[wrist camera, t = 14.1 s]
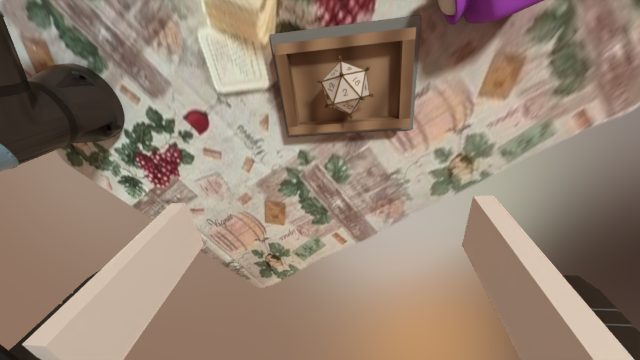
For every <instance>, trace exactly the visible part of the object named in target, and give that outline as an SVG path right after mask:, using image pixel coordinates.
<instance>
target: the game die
mask: <svg viewBox="0 0 640 360" xmlns="http://www.w3.org/2000/svg"><path fill="white" fill-rule="evenodd" d="M338 59H339V61H340V62H339V63H338V64H337V65H336V66H335V67H334V68H333V69H332V71H331V72H330V73H329V74H328V75H327V76H326V77H325V78H324V79H323V80H322V81H321V80H319V79H318V80H316V81H317V82H318V83H321V84H322V88H323V91H324V94H325V98H326V101H327V104H326V105H325V108H327V107H328V106H330V108H336V109H338V110H340V111H343V112H345V113H347V114H350V119H351V120H352V113H353V112H354V111H355V110H356V109H357V108H358V107H359V106H360V105H361V104H362V103H363V102H364V101H365V100H366V99H367V98H368V97H369V96H370V97H374V95H373V94H369V87H368V80H367V73H366V71H368V70H369V69H370V66H369V67H367V68H366V69H365V70H364V69H362V68H359V67H356V66H353V65H351V64H348V63H345V62H342V57H341V56H340V55H339V58H338Z"/></svg>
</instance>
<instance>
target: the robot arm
mask: <svg viewBox="0 0 640 360" xmlns="http://www.w3.org/2000/svg"><path fill="white" fill-rule="evenodd" d="M3 17H4V15H3V14H2V12H1V11H0V171H3V170H7V169H11V168H15V167H17V166H18V165H20V164H22V163H25V162H27V161H29V160H32V159H34V158H37V157H39V156H42V155H44V154H47V153H49V152H52V151H54V150H57V149H59V148H62V147H64V146H66V145H69V144H72V143H84V142H98V141H104V140H106V139H109V138H111V137H113V136H115V135H117V134H118V133H119V132H120V131H121V129H122V127H123V123H124V113H123V109H122V106H121V103H120V101H119V99H118V97H117V95H116V94H115V92H114V91H113V89H112V88H111V87H110V86H109V85H108V84H107V82H106V81H104V80H103V79H102V78H101V77H100V76H99V75H97V74H96V73H95V72H93V71H91V70H90V69H88V68H86V67H83V66H80V65H77V64H59V65H53V66H50V67H48V68H46V69H44V70H42V71H41V72H39V73H37V74H35V75H34V76H32V77H30V78H28V79H27V77H26V74H25V72H24V69H23V67H22V64H21V62H20V59H19V57H18V54H17V52H16V49H15V47H14V44H13V41H12V39H11V36H10V34H9V31H8V29H7V26H6V24H5V21H4V19H3ZM203 245H204V244H203V242H202V240H201V238H200V235H199V233H198V231H197V229H196V226H195V224H194V222H193V220H192V217H191V215H190V213H189V210H188V208H187V206H186V204H185V203H171V204H170V205H169V206H168V207H167V208H166V209H165V210H164V211H163V212H162V213H161V214H160V215H158V216H157V217H156V218H155V219H154V220H153V221H152V222H151V223H150V224H149V225H148V226H147V227H146V228H145V229H144V230H143V231H142V232H140V233H139V234H138V235H137V236H136V237H135V238H134V239H133V240H132V241H131V242H130V243H129V244H128V245H127V246H126V247H125V248H124V249H122V250H121V251H120V252H119V253H118V254H117V255H116V256H115V257H114V258H113V259H112V260H111V261H110V262H109V263H108V264H107V265H105V267H103V268H102V269H101V270H99V271H98V272H96V273H95V274H93V275H92V276H90V277H89V278H87V279H86V280H85V281H84V282H83V283H82V284H81V285H80V286H78V288H76V289H75V290H74V293H73V294H70V295H69V296H68V297H67V298H66V299H64V300H63V302H62V304H59V305H58V306H57V307H56V308H55V309H54V310H53V311H52V312H50V313H49V314H48V315H47V316H46V317H45V318H44V319H43V320H42V321H41V322H40V323H39V324H37V325H36V326H35V327H34V328H33V329H32V330H31V331H30V332H29V333H28V334H27V335H26V336H25V337H23V338H22V339H21V340H20V341H19V342H18V343H17V344H16V345H15V346H13V347H12V348H11V349H10V350H9V351H8V350H7V349H5V348H4V347H3V346H2V345H0V360H123V359H124V358H125V356H126V355H127V353H128V352H129V350H130V349H131V348H132V346H133V345H134V343H135V342H136V341H137V339H138V338H139V336H140V335H141V333H142V332H143V331H144V329H145V328H146V326H147V325H148V323H149V322H150V320H151V319H152V318H153V316H154V315H155V313H156V312H157V311H158V309H159V308H160V306H161V305H162V304H163V302H164V300H165V299H166V298H167V296H168V295H169V294H170V292H171V291H172V289H173V288H174V286H175V285H176V283H177V282H178V281H179V279H180V278H181V276H182V275H183V273H184V272H185V271H186V269H187V268H188V266H189V265H190V264H191V262H192V261H193V259H194V258H195V256H196V255H197V254H198V252H199V251H200V249H201V248H202V246H203ZM462 246H463V248H464V250H465V252H466V254H467V256H468V258H469V260H470V262H471V264H472V266H473V267H474V269H475V271H476V273H477V275H478V277H479V279H480V281H481V283H482V285H483V287H484V289H485V291H486V293H487V295H488V297H489V299H490V301H491V303H492V305H493V307H494V308H495V310H496V312H497V314H498V316H499V318H500V320H501V322H502V324H503V326H504V328H505V330H506V332H507V334H508V336H509V338H510V340H511V342H512V344H513V346H514V347H515V349H516V351H517V353H518V355H519V357H520V359H521V360H640V332H639V331H638V330H637V329H636V328H633V327H632V324H631V323H630V321H628V319H627V318H626V317H624V315H623V314H622V313H621V312H618V311H617V308H616V307H615V306H614V305H613V304H612V303H611V302H610V301H609V300H608V298H607V297H606V296H605V295H604V294H603V293H602V292H601V291H600V290H598V289H597V288H595V287H594V286H592V285H591V284H590V283H588V282H587V281H585V280H584V279H582V278H581V277H579V276H568V275H567V276H566V275H561V274H560V273H559V271H558V270H557V269H556V268H555V267H554V266H553V264H552V263H551V262H550V261H549V260H548V259H547V257H546V256H545V255H544V254H543V253H542V252H541V250H540V249H539V248H538V247H537V246H536V245H535V243H534V242H533V241H532V240H531V239H530V238H529V237H528V236H527V234H526V233H525V232H524V231H523V230H522V228H521V227H520V226H519V225H518V224H517V223H516V221H515V220H514V219H513V218H512V217H511V216H510V215H509V213H508V212H507V211H506V210H505V209H504V207H503V206H502V205H501V204H500V203H499V202H498V201H497V199H496V198H495V197H494V196H473V200H472V204H471V208H470V213H469V217H468V221H467V226H466V230H465V235H464V239H463V243H462Z"/></svg>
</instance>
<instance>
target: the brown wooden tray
mask: <svg viewBox="0 0 640 360" xmlns="http://www.w3.org/2000/svg"><path fill="white" fill-rule="evenodd" d="M415 37H416V27H412V28H404V29H396V30H388V31H379V32H371V33H363V34H355V35H347V36H339V37H331V38H322V39H314V40H306V41H298V42H290V43H282V44H275V45H274V51H275V57H276V62H277V68H278V74H279V79H280V85H281V91H282V97H283V102H284V108H285V114H286V119H287V125H288V131H289V135H297V134H312V133H327V132H342V131H357V130H372V129H387V128H402V127H410V113H411V98H412V82H413V67H414V52H415ZM339 55H340V56H341V57H342V62H345V63H348V64H351V65H353V66H356V67H359V68H362V69H364V70H365V69H366V68H367V67H369V66H370V69H369V70H368V71H366V73H367V80H368V87H369V94H373V95H374V97H370V96H369V97H368V98H367V99H366V100H365V101H364V102H363V103H362V104H361V105H360V106H359V107H358V108H357V109H356V110H355V111H354V112H353V113H352V120H351V119H350V114H347V113H345V112H343V111H340V110H338V109H336V108H330V106H328V107H327V108H325V105H326V104H327V101H326V98H325V94H324V91H323V88H322V84H321V83H318V82H317V81H316V80H318V79H319V80H321V81H322V80H323V79H324V78H325V77H326V76H327V75H328V74H329V73H330V72H331V71H332V69H333V68H334V67H335V66H336V65H337V64H338V63H339V62H340V61H339V59H338V58H339Z"/></svg>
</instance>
